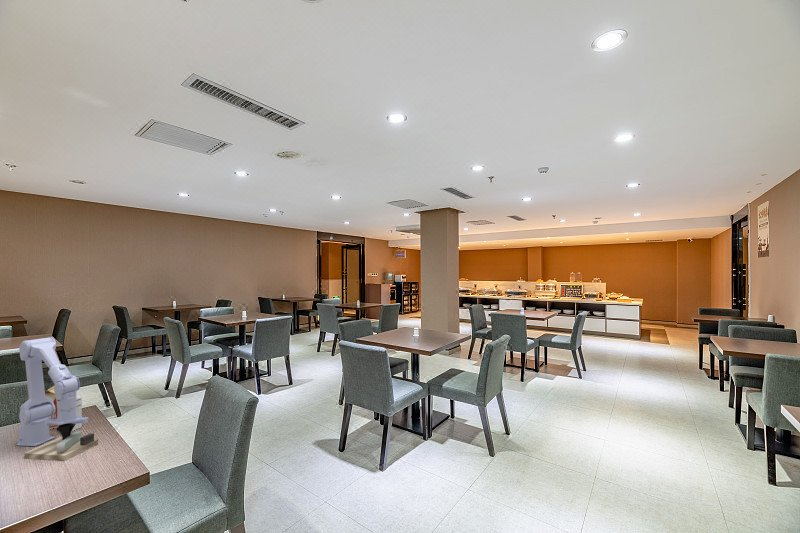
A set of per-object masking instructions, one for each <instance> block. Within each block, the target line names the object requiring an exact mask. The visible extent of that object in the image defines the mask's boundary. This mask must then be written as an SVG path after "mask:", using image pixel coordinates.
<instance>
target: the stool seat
mask: <svg viewBox="0 0 800 533" xmlns="http://www.w3.org/2000/svg"><path fill="white" fill-rule="evenodd" d="M61 441H63V440H62V436H60V437H57V438H54V439H52V440H50V441H47V442H45V444H44V443H43V444H42V445H41V444H40V446H39V445H38V446H36V447H35V448H32V449H30V450H28V451H26V452H24V453H23V459H29V460H46V461H47V460H48V461H63V462H65V461H67V460H70V459H71V458H73V457H75V456H77V455H79V454H81V453H83V452H85V451H87V450H89V449H91V448H93V447H96V446H97V445H99V439H98V438H95V433H87V434H86V435H84V436H83V435H82V437H81V438H80V440H79V441H77V442H76V443H75V444H73V445H72V446H71V447H70V448H68V449H67V450H66V451H64V452H61V453H57V443H60V442H61Z"/></svg>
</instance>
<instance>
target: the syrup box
mask: <svg viewBox="0 0 800 533" xmlns="http://www.w3.org/2000/svg"><path fill="white" fill-rule="evenodd" d="M82 402H83V401H82V396H76V416H77V417H83V416H82V411H83V410H82V407H83V406H82V404H83V403H82ZM82 425H83V424H82V423H77V424H75V426H74V428H73V429H72V431H71V433H73V432H75V431H77V430H78V428H79V429H81V428H83V426H82ZM80 427H81V428H80ZM76 429H77V430H76ZM74 430H75V431H74Z"/></svg>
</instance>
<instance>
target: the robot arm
mask: <svg viewBox="0 0 800 533" xmlns="http://www.w3.org/2000/svg"><path fill="white" fill-rule="evenodd" d="M18 347H19V348H18V349H19V357H20V361H24V363H25V372H26V373H25V374H26V383H27V394H28V395H27V396H28V399H27V400H26V401H25V402H24V403H23V404H21V406H20V407H19V414H18V418H19V421H20V423H21V424H20V426H19V427H18V443H16V444H15V445H16V446H24V447H25V446H26V447H38V446H39V445H41V444H42V445H43V444H44V443H47V442H50V441H52V440H54V439H56V436H54V435H53V436H51V435H50V429H49V425H59V427H57V428H56V431H58V433H59V434H60V435H61V437H62V440H64V439H66V438H67V437H68V436H70V435H71V434H72V432H73V431H72V429H73V428H74V426H75V424H77V423H82V425H83V424H86V423H88V422H89V416H82V417H77V416H76V397H77V391H79V390H80V387H81V382H80V379H79V378H78V377H77V376H75V375H73V374H72V373H71V372H70V370H69V369H68V367H67V366H66V365H65V364H61V361H60V360H59V357H58V355H57V353H56V349H57V341H56V339H55V338H54V337H53V336H48V337H43V338H37V339H36V338H35V339H29V340H26V339H25V340H23V341H22V342H21V343H20V344H19V346H18ZM42 362H44V364H45V365H46V366H47V367H48V369H49V370H48V372H47V374H48V376H49V377H50V379H51V380H52V382H53V384H54V392H55V394H56V399H57V419H50V418H51V416H53V415H54V413H55V405H54V403H53V399H52V398H49V397H46V396H45V393H46V392H45V381H44V373H43V372H44V371H43V363H42ZM41 403H44V404H41ZM71 431H72V432H71Z"/></svg>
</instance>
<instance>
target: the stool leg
mask: <svg viewBox="0 0 800 533" xmlns="http://www.w3.org/2000/svg"><path fill="white" fill-rule="evenodd" d="M81 437H83V430H79V431H77V430H76V431H73V432H72V433H71V435H70V436H68V437H67V438H66V439H64V440H63V441H61V442H60V443H57V453H61V452H64V451H66V450H67V449H68V448H70V447H71V446H72V445H73V444H75V443H76V442H77V441H79V440H80V438H81Z"/></svg>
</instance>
